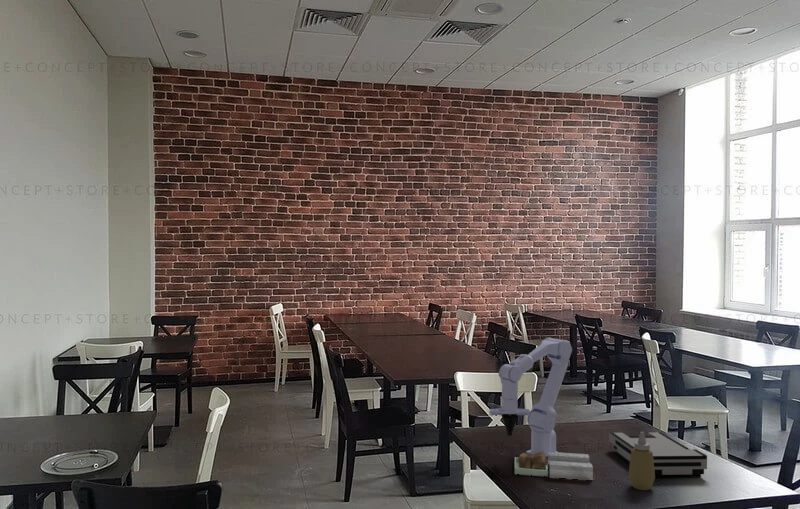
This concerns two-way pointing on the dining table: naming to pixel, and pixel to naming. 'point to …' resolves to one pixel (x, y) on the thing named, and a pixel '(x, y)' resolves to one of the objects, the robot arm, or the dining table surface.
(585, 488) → the dining table surface
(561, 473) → the slot block
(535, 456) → the chip
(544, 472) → the tray
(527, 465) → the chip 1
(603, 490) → the dining table surface
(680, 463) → the game console
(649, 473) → the squeeze bottle
